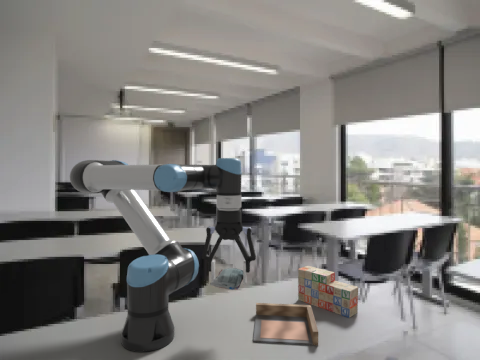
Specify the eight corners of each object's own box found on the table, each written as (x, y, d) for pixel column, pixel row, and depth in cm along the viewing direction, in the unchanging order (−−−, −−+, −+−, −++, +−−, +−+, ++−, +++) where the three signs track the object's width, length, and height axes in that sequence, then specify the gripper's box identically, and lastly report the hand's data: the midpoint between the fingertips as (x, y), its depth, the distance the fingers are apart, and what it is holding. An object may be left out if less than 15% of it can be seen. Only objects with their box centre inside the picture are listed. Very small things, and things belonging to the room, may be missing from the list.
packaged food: (209, 292, 94) (210, 275, 94) (219, 278, 106) (219, 263, 105) (239, 294, 92) (239, 277, 92) (246, 280, 104) (246, 265, 104)
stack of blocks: (358, 313, 113) (358, 278, 113) (349, 318, 109) (349, 282, 109) (307, 295, 129) (307, 264, 128) (297, 299, 125) (297, 268, 124)
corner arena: (253, 341, 94) (253, 328, 94) (256, 314, 112) (256, 302, 112) (318, 345, 92) (318, 331, 92) (310, 316, 110) (310, 305, 110)
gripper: (190, 210, 95) (191, 285, 96) (264, 211, 94) (264, 287, 94) (196, 207, 103) (196, 277, 104) (265, 207, 101) (264, 279, 102)
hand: (229, 282), depth 99 cm, fingers closed on packaged food, 9 cm apart
